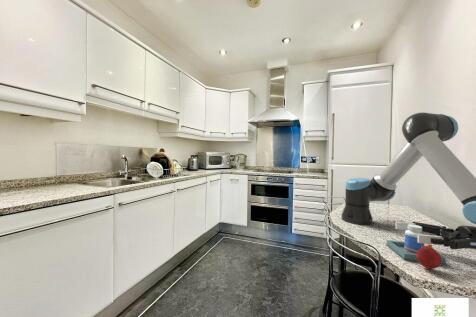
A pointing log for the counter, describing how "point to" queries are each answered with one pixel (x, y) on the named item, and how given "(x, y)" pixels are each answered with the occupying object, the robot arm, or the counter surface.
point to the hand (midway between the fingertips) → (406, 231)
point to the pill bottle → (412, 239)
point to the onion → (428, 257)
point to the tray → (399, 249)
